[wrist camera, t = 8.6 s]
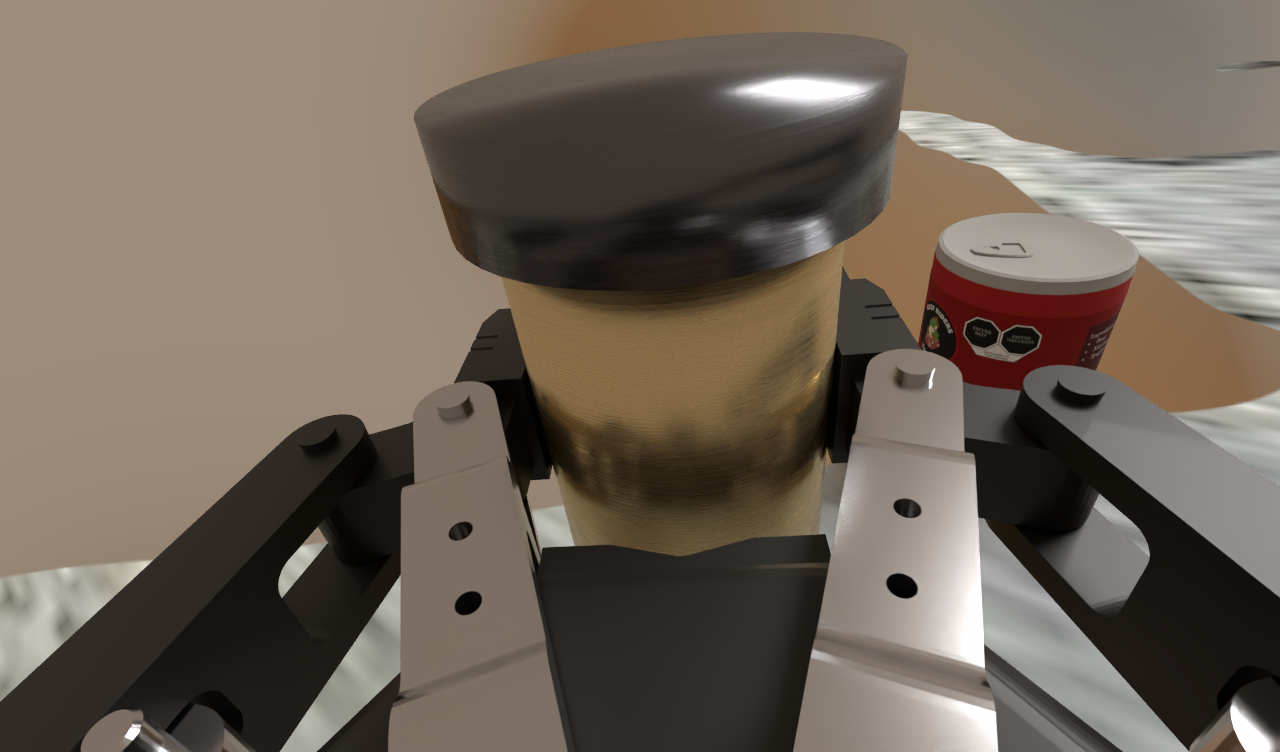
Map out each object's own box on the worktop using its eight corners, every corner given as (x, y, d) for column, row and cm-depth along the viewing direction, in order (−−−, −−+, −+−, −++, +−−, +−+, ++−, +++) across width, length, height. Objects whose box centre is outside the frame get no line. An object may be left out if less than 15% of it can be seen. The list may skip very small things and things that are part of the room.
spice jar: (806, 516, 17) (840, 18, 10) (862, 752, 12) (1005, 97, 5) (593, 525, 17) (484, 63, 10) (563, 753, 13) (321, 170, 6)
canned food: (884, 394, 37) (909, 223, 31) (1013, 376, 37) (1065, 202, 31) (944, 484, 31) (993, 292, 25) (1100, 463, 31) (1188, 265, 25)
